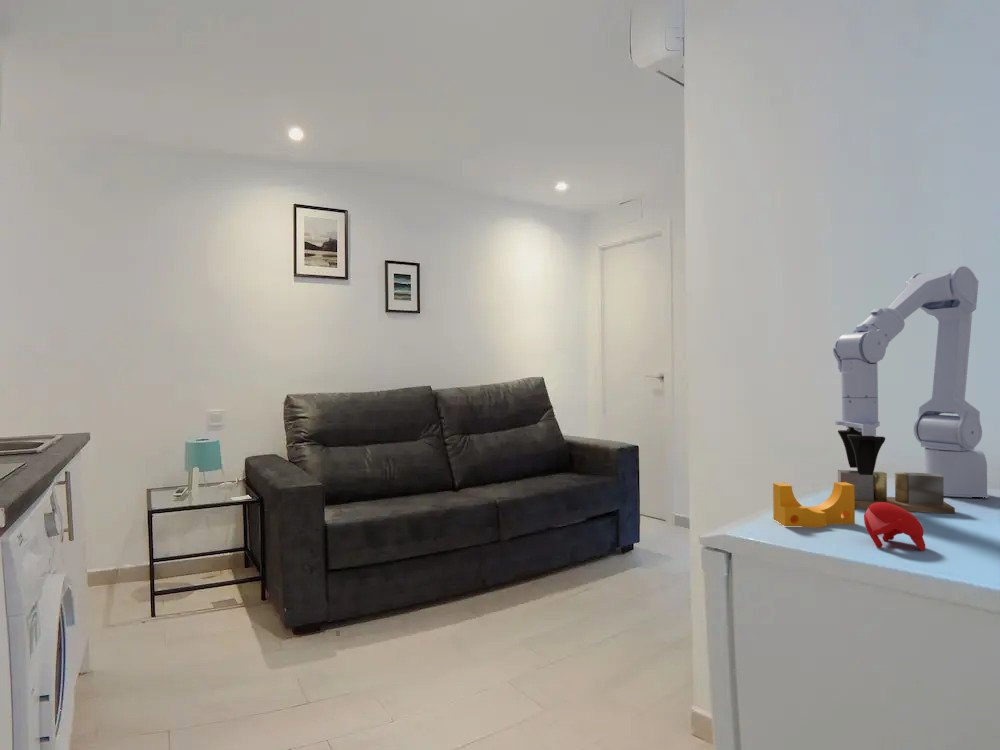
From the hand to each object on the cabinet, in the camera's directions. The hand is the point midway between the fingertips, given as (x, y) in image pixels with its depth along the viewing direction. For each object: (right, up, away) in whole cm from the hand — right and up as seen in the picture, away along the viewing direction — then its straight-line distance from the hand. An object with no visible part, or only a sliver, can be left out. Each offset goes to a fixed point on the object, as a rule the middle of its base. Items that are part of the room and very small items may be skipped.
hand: (860, 471), depth 111 cm
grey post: (0, -5, 0) cm, 5 cm away
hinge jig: (+5, -6, -2) cm, 8 cm away
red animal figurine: (-10, -7, -25) cm, 28 cm away
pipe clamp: (-15, -7, -13) cm, 21 cm away
